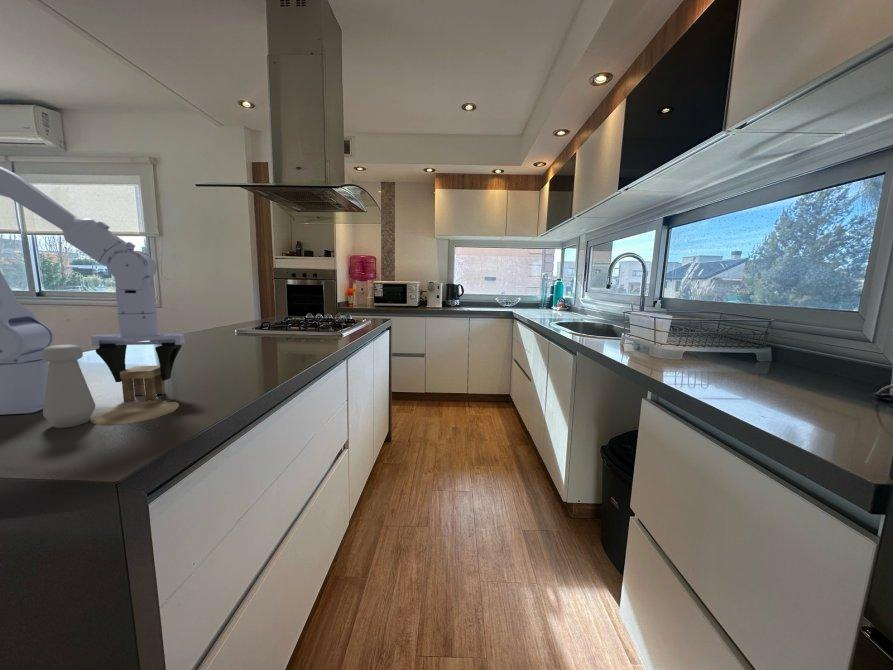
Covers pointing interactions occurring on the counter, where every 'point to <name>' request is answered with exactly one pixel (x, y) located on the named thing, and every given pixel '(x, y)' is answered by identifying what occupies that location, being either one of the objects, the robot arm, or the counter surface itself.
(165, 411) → the trivet
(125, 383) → the stool
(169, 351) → the robot arm
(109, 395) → the counter surface
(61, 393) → the salt shaker
